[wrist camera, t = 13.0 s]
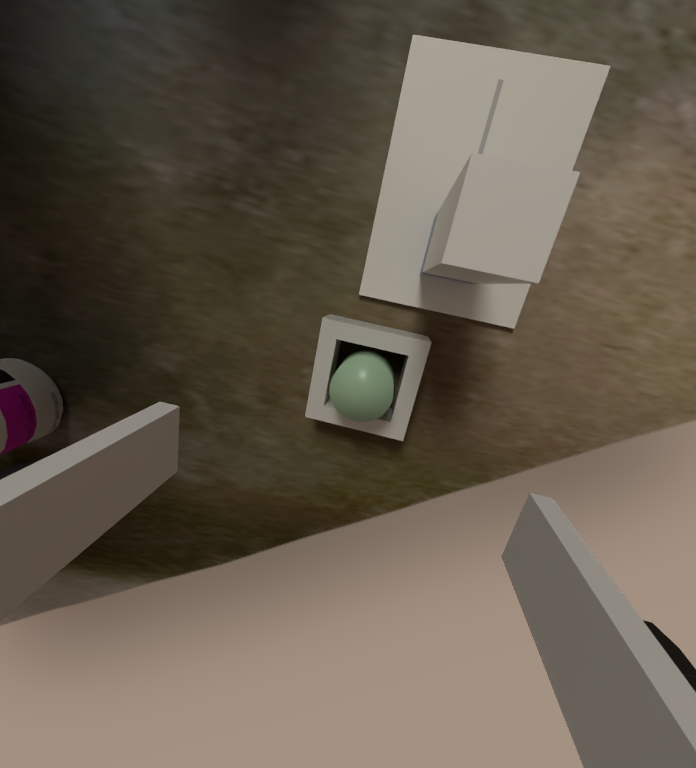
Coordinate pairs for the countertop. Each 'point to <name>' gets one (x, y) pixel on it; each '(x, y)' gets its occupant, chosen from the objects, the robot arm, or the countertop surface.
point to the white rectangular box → (498, 222)
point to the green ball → (362, 386)
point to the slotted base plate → (452, 150)
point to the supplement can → (26, 404)
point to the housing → (376, 337)
